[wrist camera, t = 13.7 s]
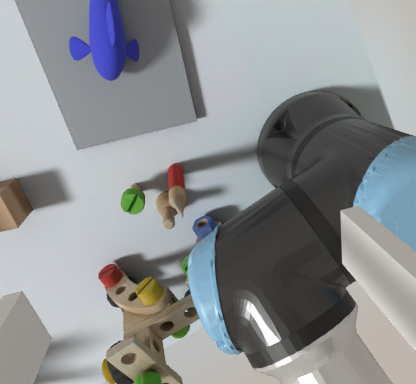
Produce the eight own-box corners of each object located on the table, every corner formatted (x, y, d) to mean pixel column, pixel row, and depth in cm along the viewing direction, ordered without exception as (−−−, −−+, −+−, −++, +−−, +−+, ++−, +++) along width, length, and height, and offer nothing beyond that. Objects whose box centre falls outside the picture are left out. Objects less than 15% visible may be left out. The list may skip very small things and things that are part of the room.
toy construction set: (81, 168, 43) (17, 260, 24) (241, 158, 45) (296, 234, 26) (112, 314, 54) (84, 453, 35) (238, 299, 56) (275, 423, 38)
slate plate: (153, -65, 33) (153, -69, 32) (196, 119, 42) (197, 120, 40) (5, -32, 33) (0, -35, 31) (79, 147, 41) (77, 150, 40)
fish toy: (137, 78, 39) (154, 84, 33) (72, 79, 36) (79, 85, 30) (128, -74, 32) (147, -97, 27) (48, -89, 29) (51, -120, 24)
